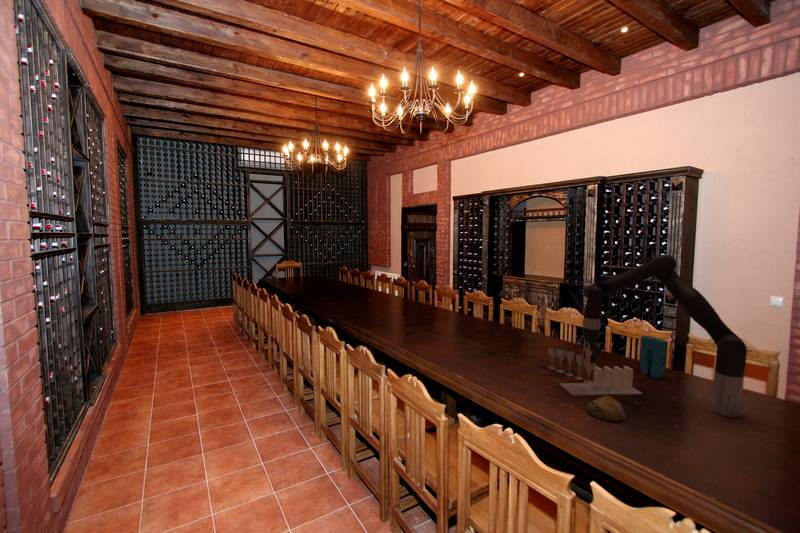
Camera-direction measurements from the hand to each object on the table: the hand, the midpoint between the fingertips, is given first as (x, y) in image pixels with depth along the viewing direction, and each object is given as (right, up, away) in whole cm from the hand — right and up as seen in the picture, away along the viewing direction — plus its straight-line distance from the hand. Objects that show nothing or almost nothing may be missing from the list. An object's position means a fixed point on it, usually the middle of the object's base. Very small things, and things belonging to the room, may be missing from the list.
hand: (589, 360), depth 182 cm
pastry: (-5, -17, -24) cm, 30 cm away
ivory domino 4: (+20, -14, +2) cm, 24 cm away
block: (+45, -13, +21) cm, 51 cm away
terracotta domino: (0, -3, 0) cm, 3 cm away
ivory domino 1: (+5, -14, +1) cm, 15 cm away
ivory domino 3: (+15, -14, +2) cm, 20 cm away
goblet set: (0, -13, +20) cm, 24 cm away
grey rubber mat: (+6, -14, +2) cm, 15 cm away
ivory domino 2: (+10, -14, +2) cm, 17 cm away
